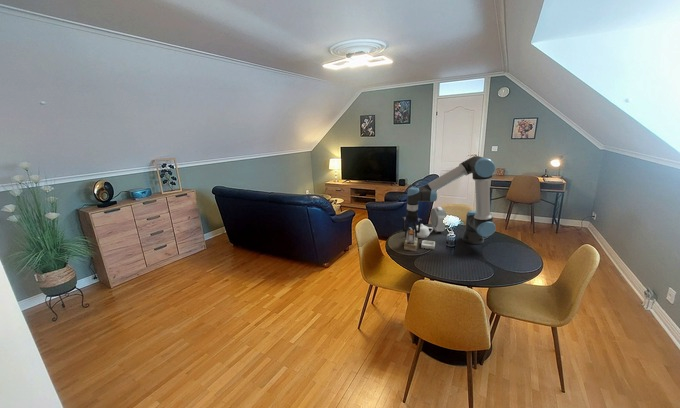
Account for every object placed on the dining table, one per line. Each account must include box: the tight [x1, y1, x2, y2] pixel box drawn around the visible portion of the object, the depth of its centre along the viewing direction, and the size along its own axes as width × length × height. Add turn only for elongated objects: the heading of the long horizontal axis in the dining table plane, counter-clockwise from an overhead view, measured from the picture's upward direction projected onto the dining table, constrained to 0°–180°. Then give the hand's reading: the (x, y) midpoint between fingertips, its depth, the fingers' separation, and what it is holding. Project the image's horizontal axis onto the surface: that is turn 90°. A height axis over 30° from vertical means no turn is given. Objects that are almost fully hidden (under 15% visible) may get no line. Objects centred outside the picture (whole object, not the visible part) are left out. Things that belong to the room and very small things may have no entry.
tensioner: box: [403, 237, 419, 252], centre depth 201 cm, size 14×8×7 cm, turn 159°
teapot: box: [409, 223, 434, 239], centre depth 219 cm, size 20×12×10 cm, turn 96°
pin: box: [407, 229, 414, 244], centre depth 197 cm, size 4×4×13 cm
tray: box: [420, 239, 436, 251], centre depth 201 cm, size 9×9×2 cm
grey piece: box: [429, 206, 448, 233], centre depth 228 cm, size 18×8×20 cm, turn 179°
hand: (410, 240), depth 198 cm, fingers closed on pin, 4 cm apart
